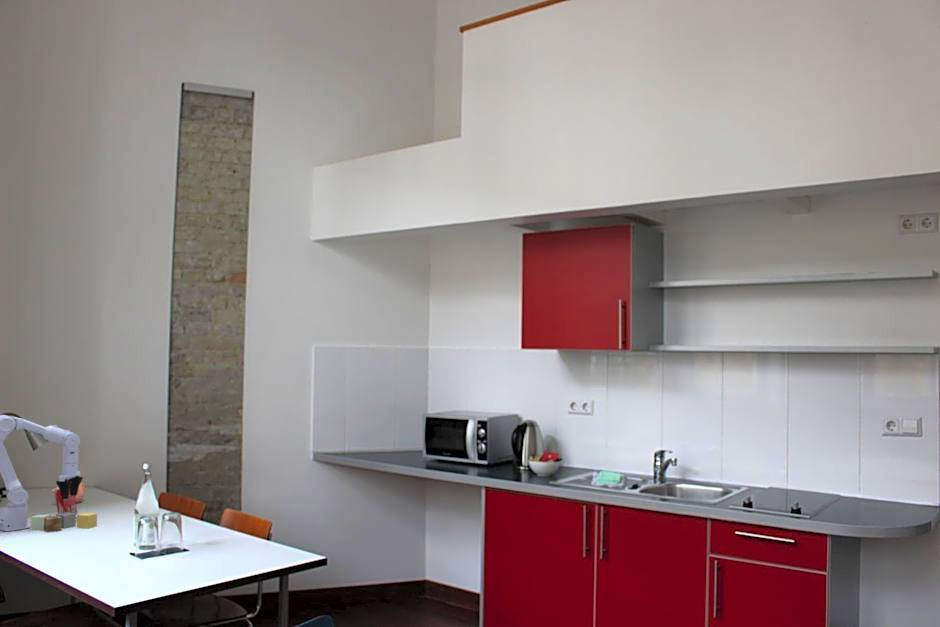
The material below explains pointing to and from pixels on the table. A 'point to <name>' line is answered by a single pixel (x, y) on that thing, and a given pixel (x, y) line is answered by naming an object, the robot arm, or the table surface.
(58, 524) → the walnut block
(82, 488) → the teapot
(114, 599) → the table surface
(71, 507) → the soda can
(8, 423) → the robot arm
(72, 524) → the slate block
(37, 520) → the pale green block
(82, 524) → the ochre block
